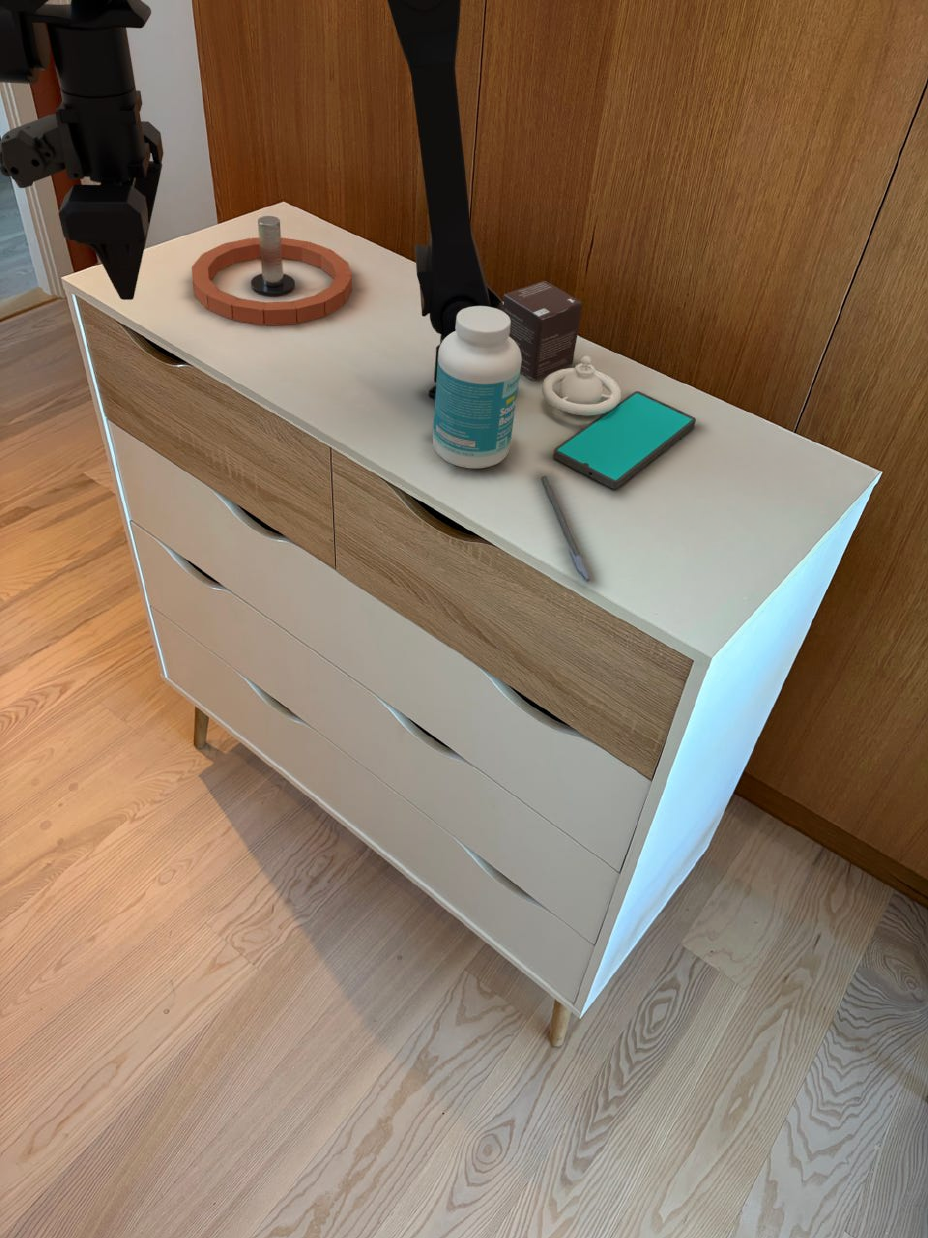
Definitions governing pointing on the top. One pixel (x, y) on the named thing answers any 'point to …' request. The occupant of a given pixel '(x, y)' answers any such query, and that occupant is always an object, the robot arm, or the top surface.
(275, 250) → the post stand
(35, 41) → the robot arm
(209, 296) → the ring
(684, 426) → the smartphone
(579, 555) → the pen
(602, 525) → the top surface
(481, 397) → the pill bottle
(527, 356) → the box
